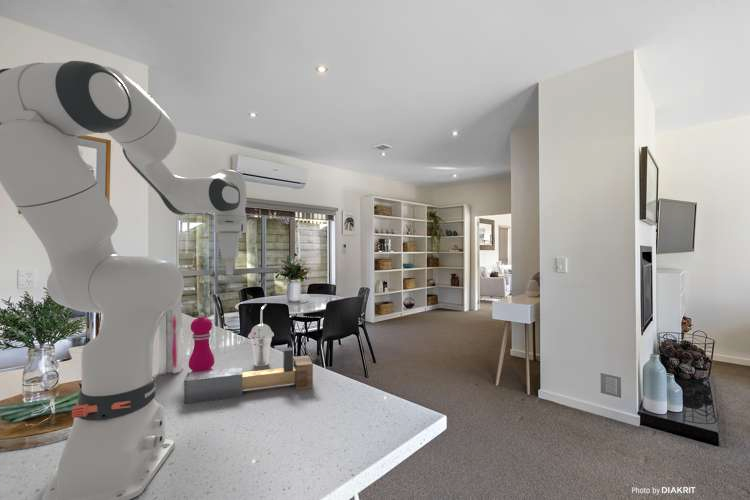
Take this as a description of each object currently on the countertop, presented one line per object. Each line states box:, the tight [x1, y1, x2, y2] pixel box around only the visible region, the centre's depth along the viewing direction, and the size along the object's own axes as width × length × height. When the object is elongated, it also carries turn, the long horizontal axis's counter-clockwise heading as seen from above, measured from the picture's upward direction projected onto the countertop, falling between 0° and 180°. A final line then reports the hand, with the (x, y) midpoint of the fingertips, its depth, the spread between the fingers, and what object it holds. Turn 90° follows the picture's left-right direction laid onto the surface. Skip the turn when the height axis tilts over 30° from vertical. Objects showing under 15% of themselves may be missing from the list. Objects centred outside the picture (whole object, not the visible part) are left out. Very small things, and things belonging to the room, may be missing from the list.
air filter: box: [157, 296, 183, 376], centre depth 113 cm, size 6×6×25 cm
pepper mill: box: [188, 312, 215, 372], centre depth 109 cm, size 7×7×20 cm
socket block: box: [293, 355, 314, 391], centre depth 104 cm, size 8×4×7 cm, turn 20°
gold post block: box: [242, 346, 296, 391], centre depth 101 cm, size 4×20×10 cm, turn 110°
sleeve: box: [183, 366, 243, 405], centre depth 96 cm, size 6×14×6 cm, turn 110°
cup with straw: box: [247, 303, 275, 367], centre depth 121 cm, size 8×9×20 cm
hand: (230, 273), depth 104 cm, fingers open, 8 cm apart
